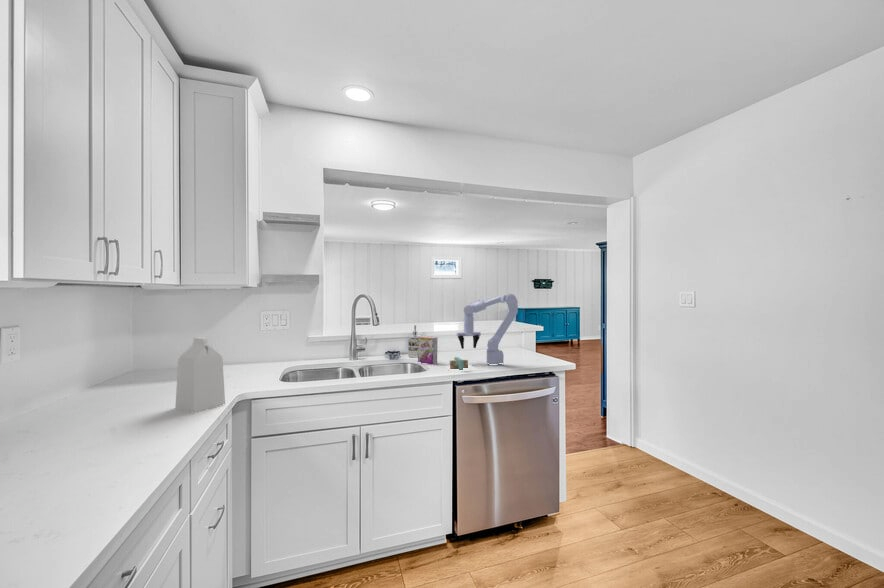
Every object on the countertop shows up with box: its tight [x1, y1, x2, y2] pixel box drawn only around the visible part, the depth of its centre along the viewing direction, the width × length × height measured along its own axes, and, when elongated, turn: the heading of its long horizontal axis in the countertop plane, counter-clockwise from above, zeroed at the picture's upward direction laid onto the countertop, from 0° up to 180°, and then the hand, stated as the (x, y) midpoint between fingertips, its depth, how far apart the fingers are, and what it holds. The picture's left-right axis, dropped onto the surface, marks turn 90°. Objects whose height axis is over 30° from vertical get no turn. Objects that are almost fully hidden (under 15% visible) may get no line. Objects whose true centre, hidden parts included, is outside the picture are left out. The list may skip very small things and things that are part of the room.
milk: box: [174, 337, 226, 414], centre depth 142 cm, size 12×12×26 cm
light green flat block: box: [453, 356, 465, 370], centre depth 206 cm, size 2×10×6 cm, turn 17°
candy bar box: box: [417, 335, 438, 365], centre depth 224 cm, size 11×5×16 cm, turn 58°
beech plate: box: [449, 359, 469, 369], centre depth 206 cm, size 10×2×5 cm, turn 107°
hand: (468, 348), depth 223 cm, fingers open, 7 cm apart
